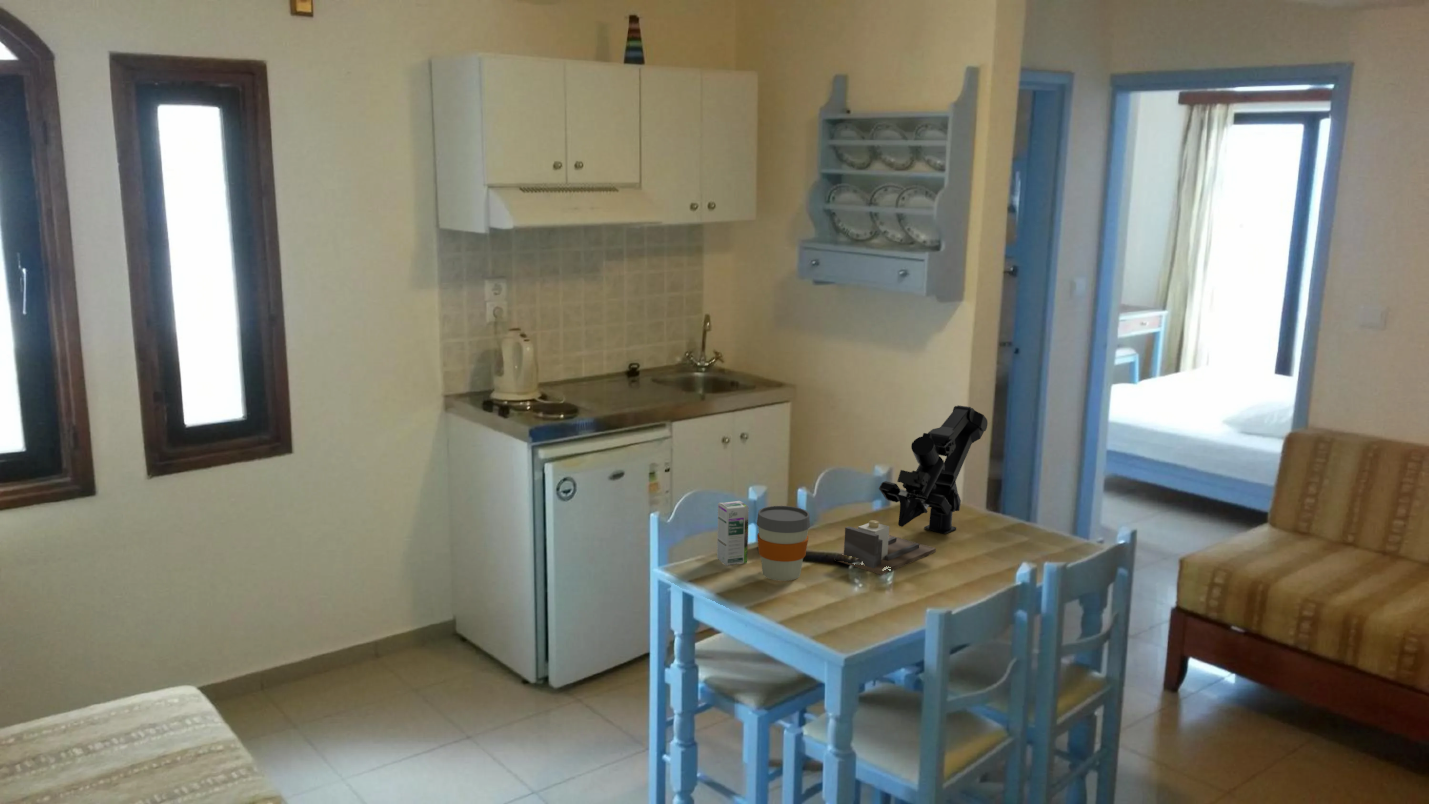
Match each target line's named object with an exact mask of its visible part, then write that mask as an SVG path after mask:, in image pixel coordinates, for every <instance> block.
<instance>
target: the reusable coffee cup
mask: <svg viewBox="0 0 1429 804" xmlns="http://www.w3.org/2000/svg"><path fill="white" fill-rule="evenodd" d="M756 525H757V527H758V528H757V529H758V533H757V545H758V546H757V547H758V554H759V556H760V558H761V560H760V561H761V562H760V563H761V570H762V571H761V572H762V576H764V577H765V578H767V579H769V580H774V581H779V582H784V581H785V582H787V581H793V580H796V579H798V578H800V576H801V572H802V566H803V562H804V561H803V560H804V558H805V557H806V553H807V548H808V543H809V535H808V534H809V533H808V532H809V529H810V527H811V519H810V513H809V511H808V510H805V509H803V508H801V507H796V506H790V505H771V506H770V505H769V506H765V507H762V508H761V509H759V510H758V512H757V519H756Z"/></svg>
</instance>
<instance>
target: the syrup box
mask: <svg viewBox="0 0 1429 804" xmlns="http://www.w3.org/2000/svg"><path fill="white" fill-rule="evenodd" d="M748 539H749V505H747V504H746V503H745V502H743V501H741V500H736V501H727V502H718V503H717V545H716V546H717V547H716V548H717V549H716V553H717V554H716V558H717V559H718V560H719V562H721V563H722V564H723V565H724V566H727V567H728V566H731V565H742V564H747V563H748V545H749V544H748V543H749V542H748V541H749V540H748Z"/></svg>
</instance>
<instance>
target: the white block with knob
mask: <svg viewBox="0 0 1429 804" xmlns="http://www.w3.org/2000/svg"><path fill="white" fill-rule="evenodd" d="M857 529H860V530H863V531H867V532H870V533H874V534H877V535H879V539H880V540H883V541H882V558H881V560H882V559H884V558H885V556H886V555H887V554H888V538H889V535H890V525H886V524H882V523H880V522H879V520H873V519H871V520H869V521H868V523H864V524H863V525H859V526H858V527H857Z"/></svg>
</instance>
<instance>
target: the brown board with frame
mask: <svg viewBox="0 0 1429 804" xmlns="http://www.w3.org/2000/svg"><path fill="white" fill-rule="evenodd" d="M882 541H883V540H880V539H879V535H877V534H874V533H870V532H867V531H863V530H860V529H858V528H856V527H854V526H846V527H845V528H844V544H843V545H844V546H843V552H842V553H841V554H842V555H847V556H852V557H856V558H859V559H860V560H862V561H863V563H864V564H865V566H864V565H861V564H860V565H856V564H855V565H854V564H852V563H848V562H844V561H838V562H839V563H843V564H845V565H849V566H851V567H855V568H858V569H861V570H865V571H868V572H871V573H874V574H877V575H881V576H884V575H886V574H888V573H890V572H893V571H894V570H897V569H900V568H901V567H904V566H906V565H909V564H911V563H913V562H916V561H918V560H920V559H922V558H925V557H927V556H929V555H931V554H934V553H936V551H937V548H936V547H933V546H929V545H926V544H923V543H918V542H915V541H912V540H909V539H908V540H907V539H904V538H901V537H898V536H894V535H890V534H889V538H888V554H887V555H886V556H885V558H884V559H882V560H881V558H882ZM834 561H836V560H835V559H834ZM836 562H837V561H836ZM886 566H887V567H888V566H889V567H891V568H888V569H891V571H889V570H888V569H886V570H884V571H882V569H883V568H884V567H886Z"/></svg>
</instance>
